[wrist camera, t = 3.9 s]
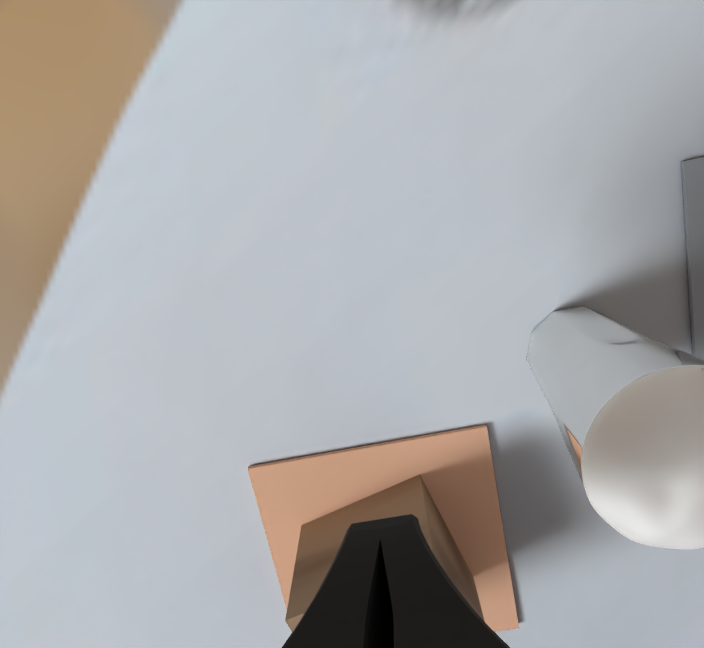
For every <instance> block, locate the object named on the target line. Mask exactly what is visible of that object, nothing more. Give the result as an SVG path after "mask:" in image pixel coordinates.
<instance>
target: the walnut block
mask: <svg viewBox="0 0 704 648" xmlns="http://www.w3.org/2000/svg"><path fill="white" fill-rule="evenodd" d="M408 514H413V515H414V516H415V517H417V518H418V520H419V525H420V528H421V530H422V533H423V535H424V537H425V539H426V541H427V543H428V545H429V547H430V549H431V550H432V552H433V554H434V556H435V557H436V559H437V560H438V562H439V563H440V565H441V566H442V568H443V569H444V571H445V572H446V574H447V575H448V577H449V578H450V580H451V581H452V583H453V584H454V585H455V587H456V588H457V589H458V591H459V592H460V593H461V594H462V596H463V597H464V598H465V599H466V601H467V602H468V603H469V604H470V606H471V607H472V608H473V609H474V610H475V612H476V613H477V614H478V615H479V616H480V617H481V618H482V619H483V621H484V617H483V613H482V609H481V605H480V601H479V597H478V593H477V589H476V585H475V581H474V577H473V575H472V573H471V571H470V569H469V568H468V566H467V564H466V562H465V560H464V558H463V556H462V554H461V552H460V550H459V548H458V547H457V545H456V543H455V541H454V539H453V537H452V535H451V533H450V531H449V529H448V527H447V526H446V524H445V522H444V520H443V518H442V516H441V514H440V512H439V510H438V508H437V506H436V505H435V503H434V501H433V499H432V497H431V495H430V493H429V491H428V489H427V487H426V485H425V484H424V482H423V480H422V478H421V476H420V474H419V475H417V476H415V477H412V478H410V479H408V480H405V481H403V482H401V483H398V484H396V485H394V486H391V487H389V488H387V489H384V490H382V491H380V492H377V493H375V494H373V495H370V496H368V497H366V498H363V499H361V500H359V501H357V502H354V503H352V504H350V505H347V506H345V507H343V508H340V509H338V510H336V511H333V512H331V513H329V514H326V515H324V516H322V517H319V518H317V519H315V520H312V521H310V522H308V523H305V524H303V525H301V531H300V536H299V542H298V548H297V554H296V560H295V566H294V572H293V578H292V584H291V590H290V596H289V602H288V608H287V614H286V620H285V621H286V623H287V624H288V626H289V627H290V629H291V631H292V632H293V631H294V629H295V628H296V626H297V625H298V623H299V621H300V620H301V618H302V617H303V615H304V613H305V612H306V610H307V608H308V607H309V605H310V604H311V602H312V600H313V599H314V597H315V595H316V593H317V592H318V590H319V588H320V586H321V584H322V582H323V580H324V578H325V577H326V575H327V573H328V571H329V569H330V567H331V565H332V563H333V561H334V559H335V557H336V555H337V552H338V550H339V548H340V546H341V543H342V541H343V539H344V536H345V534H346V531H347V529H348V528H349V527H350V525H351V524H353V523H359V522H365V521H371V520H377V519H384V518H390V517H396V516H402V515H408ZM484 622H485V621H484Z"/></svg>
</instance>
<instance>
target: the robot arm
mask: <svg viewBox="0 0 704 648" xmlns="http://www.w3.org/2000/svg"><path fill="white" fill-rule="evenodd" d="M282 648H510V647H509V646H508V645H507V644H506V643H505V642H504V641H503V640H502V639H501V638H500V637H499V636H498V635H497V634H496V633H495V632H494V631H493V630H492V629H491V628H490V627H489V626H488V625H487V624H486V623H485V622H484V621H483V619H482V618H481V617H480V616H479V615H478V614H477V613H476V612H475V610H474V609H473V608H472V607H471V606H470V604H469V603H468V602H467V601H466V599H465V598H464V597H463V596H462V594H461V593H460V592H459V591H458V589H457V588H456V587H455V585H454V584H453V583H452V581H451V580H450V578H449V577H448V575H447V574H446V572H445V571H444V569H443V568H442V566H441V565H440V563H439V562H438V560H437V559H436V557H435V556H434V554H433V552H432V550H431V549H430V547H429V545H428V543H427V541H426V539H425V537H424V535H423V533H422V530H421V528H420V525H419V520H418V518H417V517H415V516H414V515H413V514H408V515H402V516H396V517H390V518H384V519H377V520H371V521H365V522H359V523H353V524H351V525H350V527H349V528H348V529H347V531H346V534H345V536H344V539H343V541H342V543H341V546H340V548H339V550H338V552H337V555H336V557H335V559H334V561H333V563H332V565H331V567H330V569H329V571H328V573H327V575H326V577H325V578H324V580H323V582H322V584H321V586H320V588H319V590H318V592H317V593H316V595H315V597H314V599H313V600H312V602H311V604H310V605H309V607H308V608H307V610H306V612H305V613H304V615H303V617H302V618H301V620H300V621H299V623H298V625H297V626H296V628H295V629H294V631H293V632H292V634H291V635H290V637H289V638H288V640H287V641H286V643H285V644H284V645H283V647H282Z"/></svg>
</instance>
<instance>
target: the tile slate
mask: <svg viewBox="0 0 704 648" xmlns="http://www.w3.org/2000/svg"><path fill="white" fill-rule="evenodd" d="M681 166H682V183H683V200H684V217H685V233H686V250H687V267H688V284H689V301H690V317H691V334H692V351H693V356H695V357H698V358H700V359H702V360H704V157H700V158H695V159H690V160H685V161H681Z"/></svg>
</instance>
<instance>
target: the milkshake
mask: <svg viewBox="0 0 704 648" xmlns="http://www.w3.org/2000/svg"><path fill="white" fill-rule="evenodd" d="M526 361H527V363H528V365H529V367H530V369H531V371H532V373H533V375H534V377H535V379H536V381H537V383H538V385H539V387H540V389H541V391H542V393H543V395H544V397H545V398H546V400H547V402H548V404H549V406H550V408H551V410H552V412H553V415H554V417H555V419H556V421H557V423H558V426H559V428H560V431H561V433H562V436H563V439H564V441H565V444H566V446H567V449H568V451H569V453H570V456H571V458H572V460H573V463H574V465H575V467H576V470H577V472H578V474H579V477H580V479H581V481H582V483H583V486H584V488H585V491H586V494H587V497H588V499H589V501H590V503H591V505H592V506H593V508H594V509H595V511H596V512H597V513H598V514H599V515H600V516H601V517H602V518H603V519H604V520H605V521H606V522H607V523H608V524H609V525H610V526H612V527H613V528H614V529H615V530H617V531H618V532H619V533H621V534H622V535H623V536H625V537H627V538H628V539H630V540H632V541H634V542H637V543H640V544H644V545H648V546H654V547H662V548H671V549H698V548H702V547H704V360H702V359H700V358H698V357H695V356H693V355H690V354H688V353H686V352H683V351H681V350H678V349H676V348H673V347H671V346H668V345H665V344H662V343H660V342H657V341H654V340H652V339H650V338H648V337H646V336H644V335H642V334H640V333H638V332H636V331H634V330H632V329H630V328H628V327H626V326H624V325H622V324H620V323H618V322H616V321H614V320H612V319H610V318H607V317H605V316H603V315H601V314H599V313H597V312H594V311H592V310H590V309H588V308H586V307H584V306H581V307H575V308H570V309H565V310H559V311H554V312H552V313H551V314H550V315H549V316H548V317H547V318H546V319H545V320H544V321H543V322H542V323H541V324H540V325H538V326H537V327H536V328H535V329H534V330H533V331H532V332H531V337H530V342H529V347H528V352H527V356H526Z"/></svg>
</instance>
